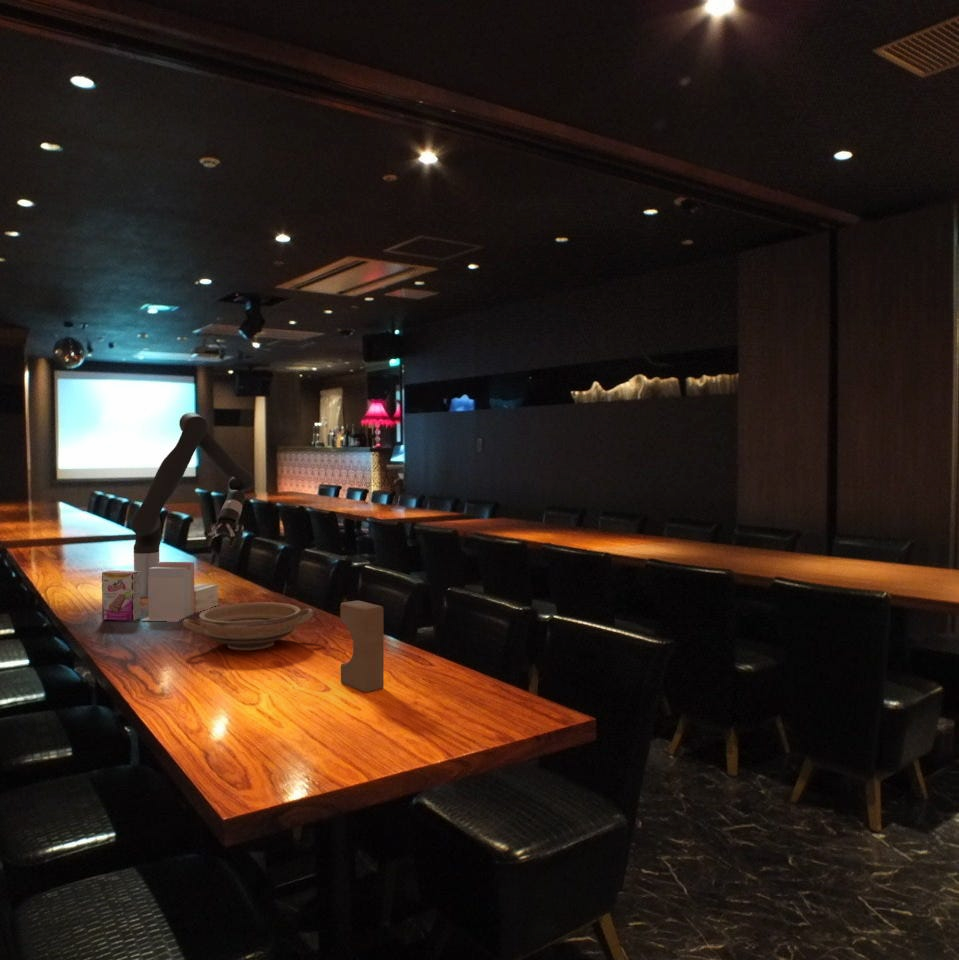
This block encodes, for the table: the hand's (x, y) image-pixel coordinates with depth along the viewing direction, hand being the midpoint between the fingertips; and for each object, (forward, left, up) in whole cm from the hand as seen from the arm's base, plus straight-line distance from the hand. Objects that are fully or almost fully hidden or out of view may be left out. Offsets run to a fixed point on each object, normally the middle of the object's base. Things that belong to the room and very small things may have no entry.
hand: (219, 545), depth 302 cm
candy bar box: (-18, -39, -21) cm, 48 cm away
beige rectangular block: (0, -20, -21) cm, 29 cm away
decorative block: (+78, -106, -21) cm, 134 cm away
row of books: (-4, -34, -20) cm, 40 cm away
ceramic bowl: (+37, -69, -21) cm, 81 cm away
